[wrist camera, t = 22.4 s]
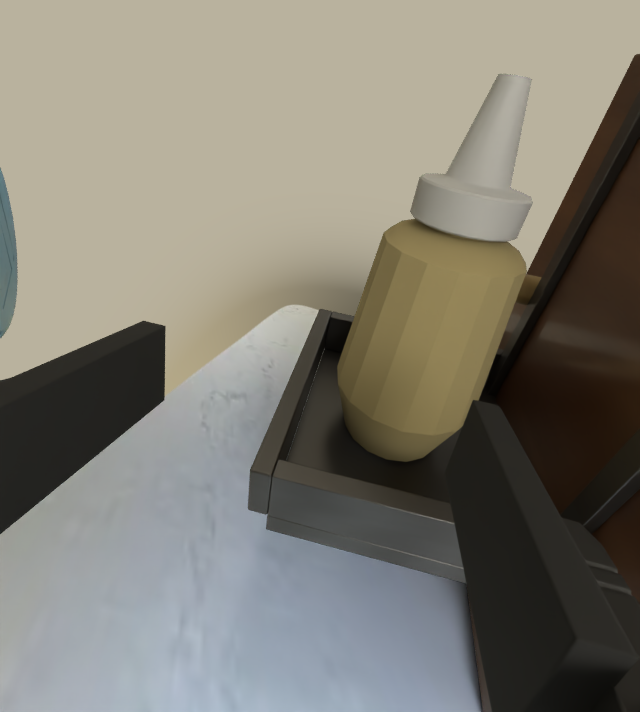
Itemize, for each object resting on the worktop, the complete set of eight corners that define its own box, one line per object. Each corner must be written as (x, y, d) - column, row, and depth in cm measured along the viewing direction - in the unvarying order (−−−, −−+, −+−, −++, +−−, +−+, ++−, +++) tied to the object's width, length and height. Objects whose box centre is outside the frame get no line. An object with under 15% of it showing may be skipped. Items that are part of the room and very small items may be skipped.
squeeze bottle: (423, 508, 19) (656, 74, 9) (300, 428, 22) (364, 44, 12) (468, 424, 25) (639, 104, 15) (365, 371, 28) (445, 78, 18)
